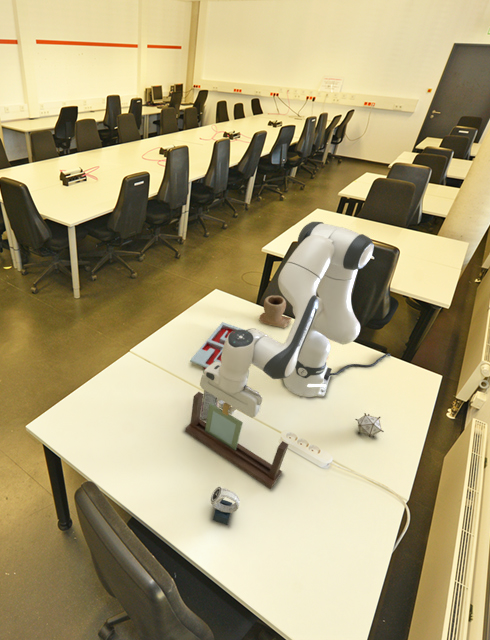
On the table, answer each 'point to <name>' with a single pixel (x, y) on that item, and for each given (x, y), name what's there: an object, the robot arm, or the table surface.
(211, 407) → the window pane
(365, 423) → the game die
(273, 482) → the window frame
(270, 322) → the stone cup
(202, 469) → the table surface
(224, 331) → the maze game
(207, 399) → the candy bar box
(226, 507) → the watch
